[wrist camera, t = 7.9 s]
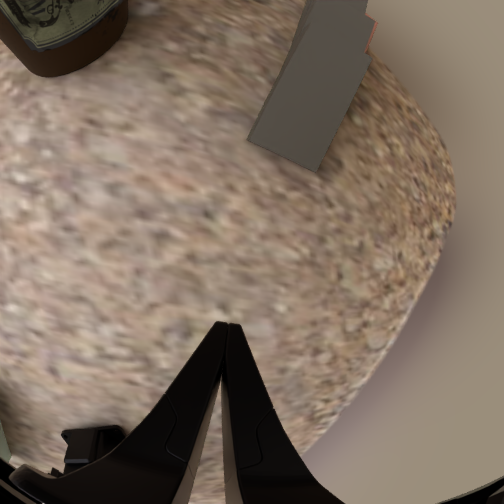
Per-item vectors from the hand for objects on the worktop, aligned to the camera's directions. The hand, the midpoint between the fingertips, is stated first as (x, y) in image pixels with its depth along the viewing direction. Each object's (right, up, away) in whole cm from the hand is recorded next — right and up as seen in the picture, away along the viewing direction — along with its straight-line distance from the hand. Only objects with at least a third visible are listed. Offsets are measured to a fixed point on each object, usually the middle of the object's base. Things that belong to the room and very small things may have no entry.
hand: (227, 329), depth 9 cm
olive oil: (-13, +20, +4) cm, 24 cm away
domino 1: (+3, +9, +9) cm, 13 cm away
